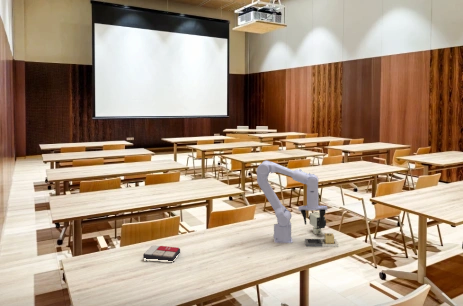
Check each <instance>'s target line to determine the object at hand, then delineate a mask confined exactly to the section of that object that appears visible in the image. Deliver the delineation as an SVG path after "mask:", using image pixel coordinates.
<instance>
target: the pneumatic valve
mask: <svg viewBox="0 0 463 306" xmlns="http://www.w3.org/2000/svg"><path fill="white" fill-rule="evenodd" d="M319 219H320V213H319V212H317V211H316V212H315V211H314V212H310V213H309V215H308V220H309V225H311V226H313V227H312V233H313V234H314V235H316V236H318V235H322V229H325V228H326V226H327V219H326V216H324V217H323V219H322V224H320V223H319Z"/></svg>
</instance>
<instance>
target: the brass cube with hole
mask: <svg viewBox="0 0 463 306" xmlns="http://www.w3.org/2000/svg"><path fill="white" fill-rule="evenodd" d="M323 235H324V238H323V239H324V243H325V244H334V239H335V235H334V233H332V232H331V233H330V232H329V233H328V232H327V233H326V232H325V233H324V234H323Z"/></svg>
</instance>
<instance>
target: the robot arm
mask: <svg viewBox="0 0 463 306" xmlns="http://www.w3.org/2000/svg"><path fill="white" fill-rule="evenodd" d="M255 172H256V182H257V185H258V186H259V188H260V189H261V191H262V192H263V194H264V196H265V198H266V199H267V201H268V202H269V205H270V206H271V207H272V209H273V210H274V215H275V218H276V220H277V223H275V224H273V235H272V236H273V242H274V244H276V243H277V244H293V237H292V222H291V219H292V212H291V211H290V210H288V209H287V207H286V206H284V205H283V203H282V202H281V200H280V199H279V197H278V196H277V194H276V193H275V190H274V189H273V187H272V186H271V184H270V182H269V181H268V178H269V175H270V174H274V173H279V174H283V175H285V176H288V177H291V178H292V181H295V182H298V183H301V184H303V185H306V205H300V206H298V212H300V213H301V215H302V217H303V222H304V225H307V212H306V211H319V212H318V213H319V214H320V219H319V223H320V224H322V219H323V217H325V214H326V211H328V206H327V205H319V177H318V175H316V174H315V173H310V172H309V173H308V172H305V171H302V169H300V168H299V169H295V170H292V169H291V168H289V167H285V166H284V165H280V164H279V163H276V162H273V161H270V160H263V161H262V163H260V164H258V166H257V168H256V171H255Z"/></svg>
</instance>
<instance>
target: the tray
mask: <svg viewBox="0 0 463 306" xmlns="http://www.w3.org/2000/svg"><path fill="white" fill-rule="evenodd" d="M304 243H305V247H307V248H308V247H312V248H313V247H315V248H316V247H319V248H322V247H323V248H324V247H326V248H328V247H330V248H338V247H339V243H338V241H337V239H336V238H334V244H325V243H324V238H304Z"/></svg>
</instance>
